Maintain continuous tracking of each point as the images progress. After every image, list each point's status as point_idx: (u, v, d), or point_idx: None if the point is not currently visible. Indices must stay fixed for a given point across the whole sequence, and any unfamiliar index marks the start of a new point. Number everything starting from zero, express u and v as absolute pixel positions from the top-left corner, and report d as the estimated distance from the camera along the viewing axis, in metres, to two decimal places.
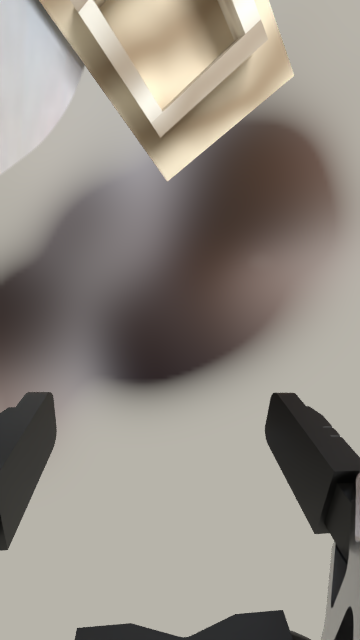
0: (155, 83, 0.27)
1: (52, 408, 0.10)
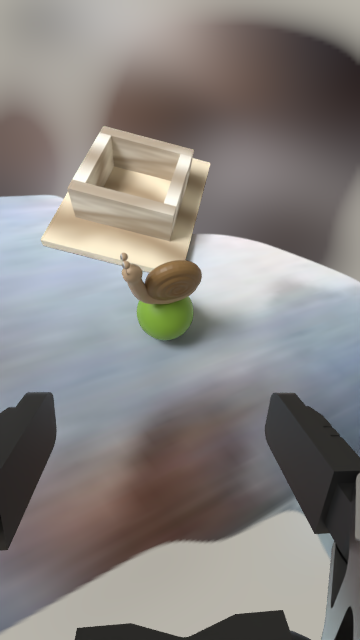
0: (167, 191, 0.36)
1: (52, 408, 0.10)
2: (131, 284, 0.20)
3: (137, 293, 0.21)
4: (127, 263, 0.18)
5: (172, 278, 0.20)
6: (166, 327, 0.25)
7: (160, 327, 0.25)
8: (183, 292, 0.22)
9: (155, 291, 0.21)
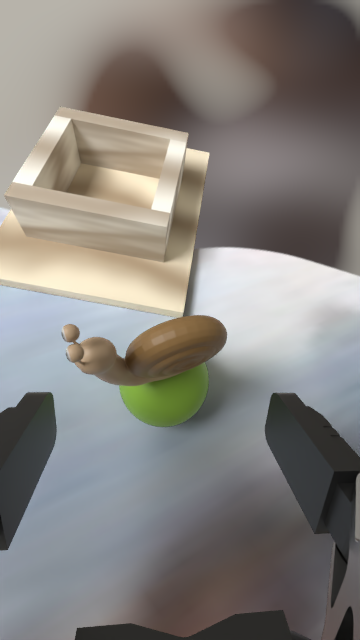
0: (155, 192, 0.27)
1: (52, 408, 0.10)
2: (96, 374, 0.10)
3: (111, 382, 0.11)
4: (76, 351, 0.08)
5: (176, 353, 0.11)
6: (168, 415, 0.15)
7: (158, 415, 0.15)
8: (195, 364, 0.13)
9: (146, 372, 0.12)
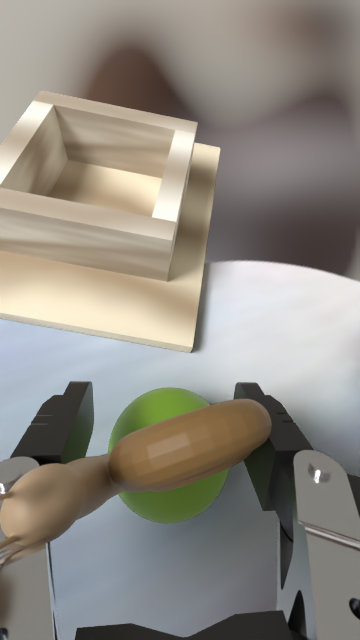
0: (157, 194, 0.22)
1: (91, 396, 0.10)
2: None
3: None
4: None
5: (193, 477, 0.06)
6: (176, 515, 0.10)
7: (161, 516, 0.10)
8: None
9: None
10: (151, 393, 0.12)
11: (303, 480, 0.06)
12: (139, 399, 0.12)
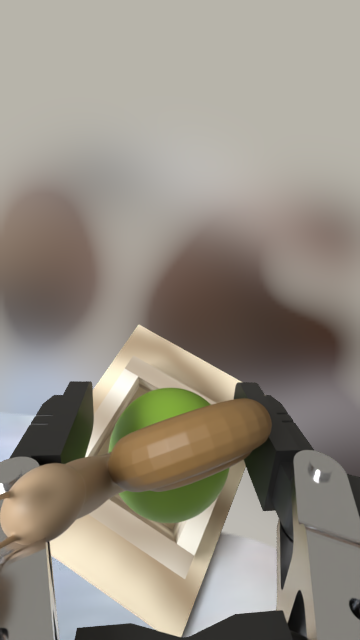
0: None
1: (91, 396, 0.10)
2: None
3: None
4: None
5: (193, 477, 0.06)
6: (176, 515, 0.10)
7: (162, 516, 0.10)
8: None
9: None
10: (151, 393, 0.12)
11: (303, 480, 0.06)
12: (139, 399, 0.12)
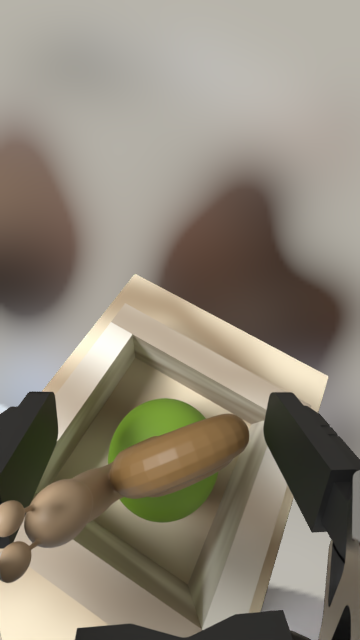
0: None
1: (54, 407, 0.10)
2: None
3: None
4: (14, 567, 0.05)
5: (182, 485, 0.07)
6: (171, 515, 0.11)
7: (158, 516, 0.11)
8: None
9: None
10: (146, 405, 0.14)
11: None
12: (135, 411, 0.13)
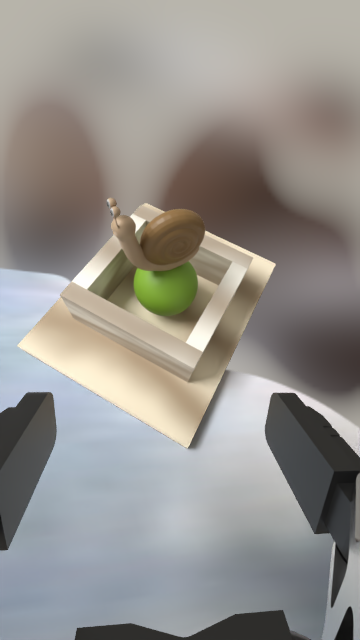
0: (206, 298, 0.27)
1: (52, 408, 0.10)
2: (124, 241, 0.17)
3: (132, 254, 0.18)
4: (116, 209, 0.14)
5: (172, 231, 0.17)
6: (169, 298, 0.21)
7: (162, 298, 0.21)
8: (185, 251, 0.19)
9: (153, 250, 0.18)
10: None
11: None
12: None
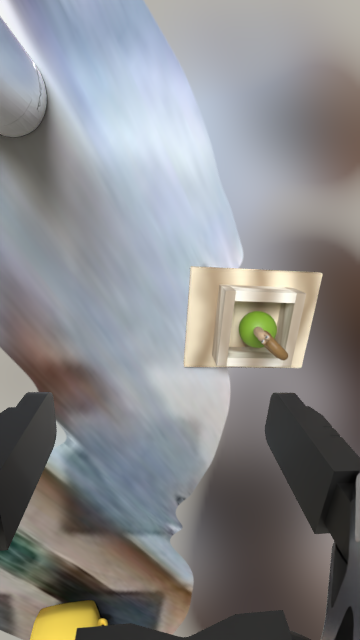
0: None
1: (52, 408, 0.10)
2: (257, 336, 0.34)
3: (255, 335, 0.35)
4: (264, 343, 0.31)
5: (272, 352, 0.34)
6: (247, 341, 0.40)
7: (245, 338, 0.40)
8: None
9: None
10: (272, 320, 0.39)
11: None
12: (269, 317, 0.39)
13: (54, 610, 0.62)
